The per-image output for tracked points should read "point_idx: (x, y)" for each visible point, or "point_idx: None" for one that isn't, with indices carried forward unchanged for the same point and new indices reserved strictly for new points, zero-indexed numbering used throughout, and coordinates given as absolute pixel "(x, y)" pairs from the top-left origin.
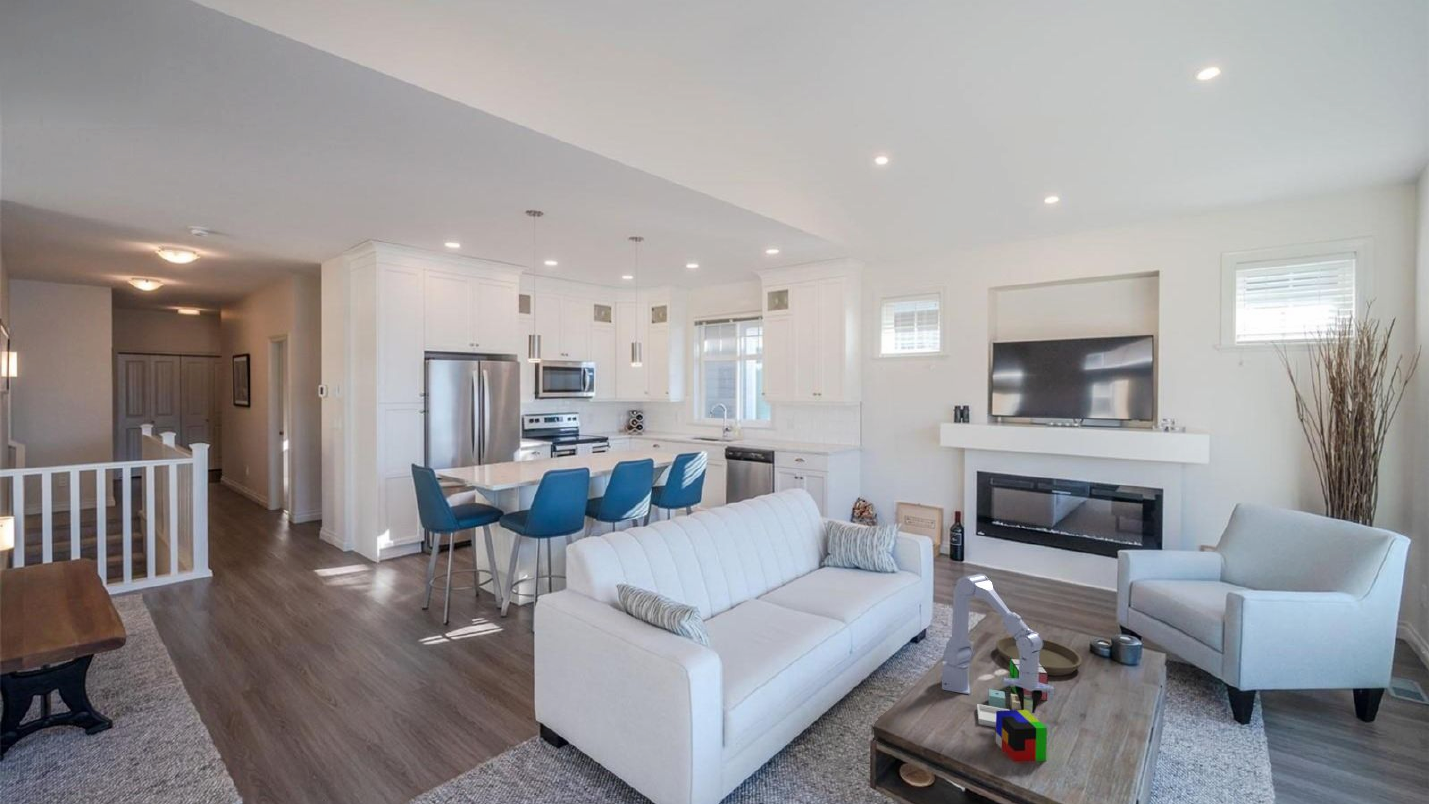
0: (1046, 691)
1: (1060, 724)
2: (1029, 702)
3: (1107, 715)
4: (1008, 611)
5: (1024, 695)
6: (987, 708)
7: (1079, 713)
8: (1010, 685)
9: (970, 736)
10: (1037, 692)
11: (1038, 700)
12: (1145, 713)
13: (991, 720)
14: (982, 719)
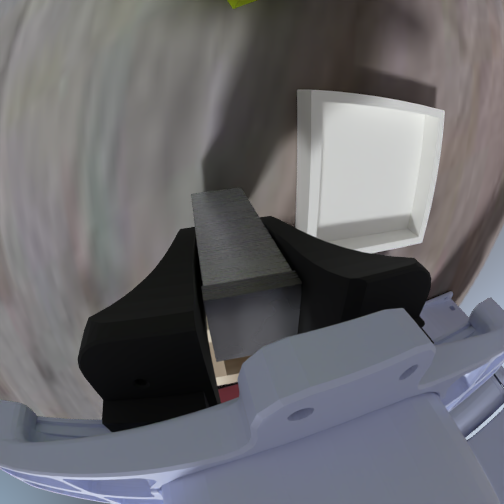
0: (62, 428)
1: (72, 287)
2: (231, 266)
3: (12, 388)
4: None
5: (290, 323)
6: (388, 237)
7: (57, 378)
8: (453, 336)
9: (445, 15)
10: (155, 392)
11: (136, 292)
12: None
13: (407, 108)
14: (434, 108)
